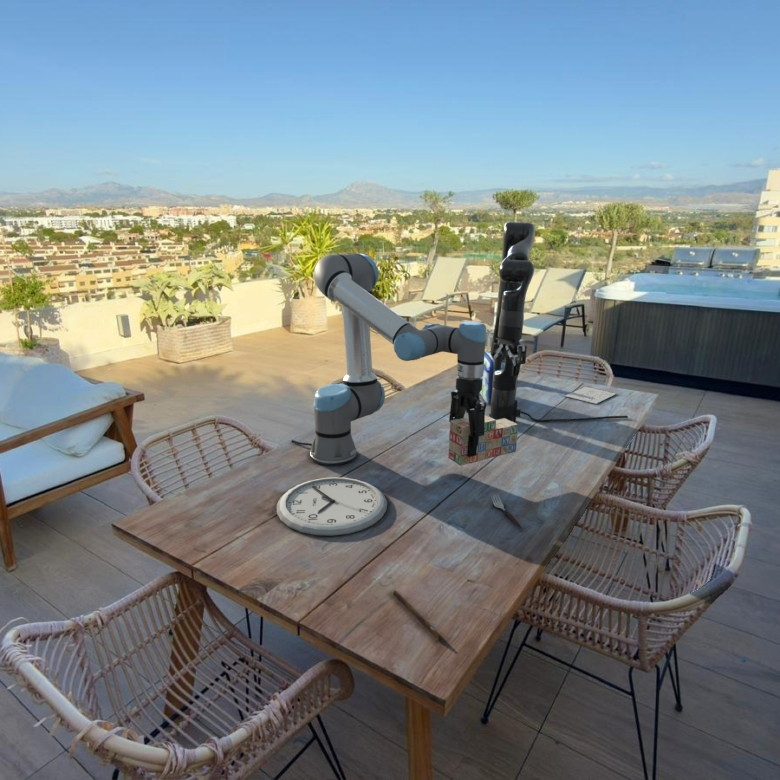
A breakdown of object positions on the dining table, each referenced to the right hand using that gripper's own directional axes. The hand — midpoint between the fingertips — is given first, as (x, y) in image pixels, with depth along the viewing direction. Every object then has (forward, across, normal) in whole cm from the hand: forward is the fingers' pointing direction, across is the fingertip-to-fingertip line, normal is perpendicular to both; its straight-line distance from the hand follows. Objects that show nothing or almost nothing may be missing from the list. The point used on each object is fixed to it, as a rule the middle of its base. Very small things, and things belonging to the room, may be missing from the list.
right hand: (506, 372), depth 172 cm
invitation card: (+25, -30, +80) cm, 89 cm away
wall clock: (+30, +8, -65) cm, 72 cm away
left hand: (+19, +12, -24) cm, 33 cm away
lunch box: (+26, -46, +34) cm, 63 cm away
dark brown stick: (+30, +55, -67) cm, 92 cm away
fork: (+29, +34, -25) cm, 51 cm away
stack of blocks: (+21, +12, -17) cm, 30 cm away
